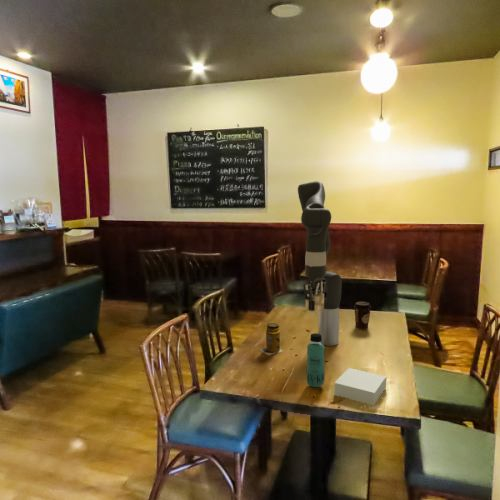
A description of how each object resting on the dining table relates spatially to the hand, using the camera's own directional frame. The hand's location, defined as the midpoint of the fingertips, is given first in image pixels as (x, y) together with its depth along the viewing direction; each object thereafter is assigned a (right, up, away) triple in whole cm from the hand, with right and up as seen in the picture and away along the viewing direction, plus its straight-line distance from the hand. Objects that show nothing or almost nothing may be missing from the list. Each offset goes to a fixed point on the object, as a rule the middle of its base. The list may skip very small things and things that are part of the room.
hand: (314, 308), depth 156 cm
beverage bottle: (0, -29, -2) cm, 29 cm away
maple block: (0, -1, 0) cm, 1 cm away
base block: (+15, -29, -6) cm, 34 cm away
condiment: (-15, -24, +32) cm, 42 cm away
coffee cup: (+33, -18, +59) cm, 70 cm away
